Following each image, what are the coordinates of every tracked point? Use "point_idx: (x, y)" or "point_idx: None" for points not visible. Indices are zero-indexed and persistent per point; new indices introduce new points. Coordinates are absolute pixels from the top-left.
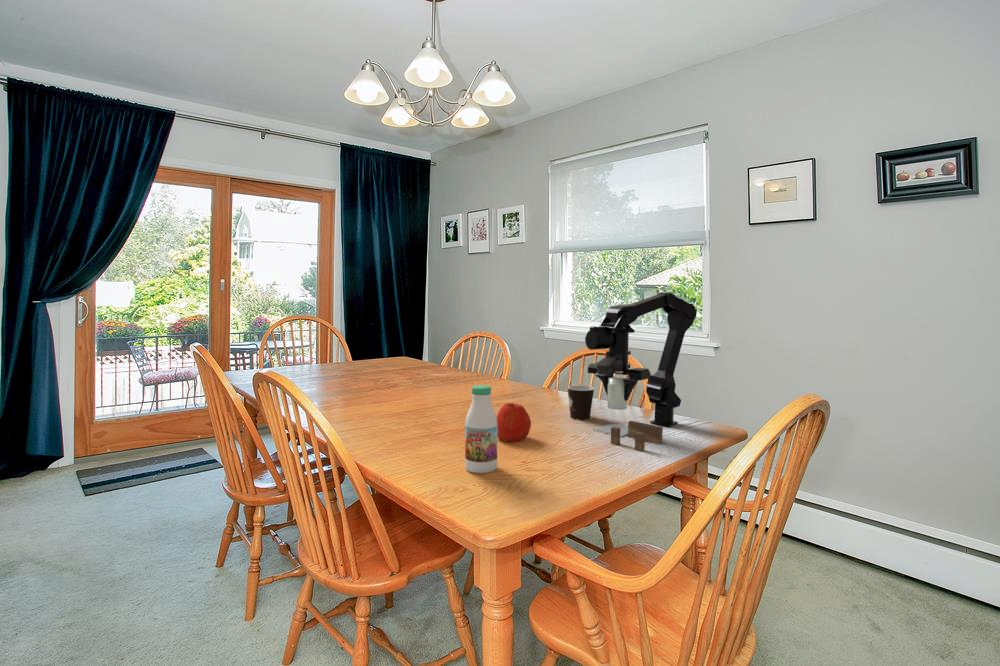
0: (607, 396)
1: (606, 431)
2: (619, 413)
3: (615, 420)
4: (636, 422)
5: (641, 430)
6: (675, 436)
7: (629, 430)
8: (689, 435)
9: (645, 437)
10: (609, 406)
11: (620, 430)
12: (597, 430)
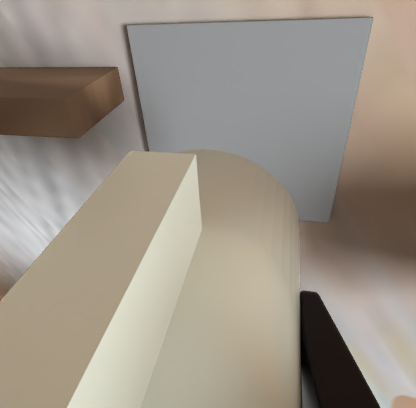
0: (184, 172)
1: (261, 49)
2: (381, 366)
3: (346, 283)
4: (26, 120)
5: (1, 84)
6: (31, 218)
7: (88, 79)
8: (24, 253)
9: (3, 73)
10: (240, 167)
11: (212, 136)
12: (328, 19)
